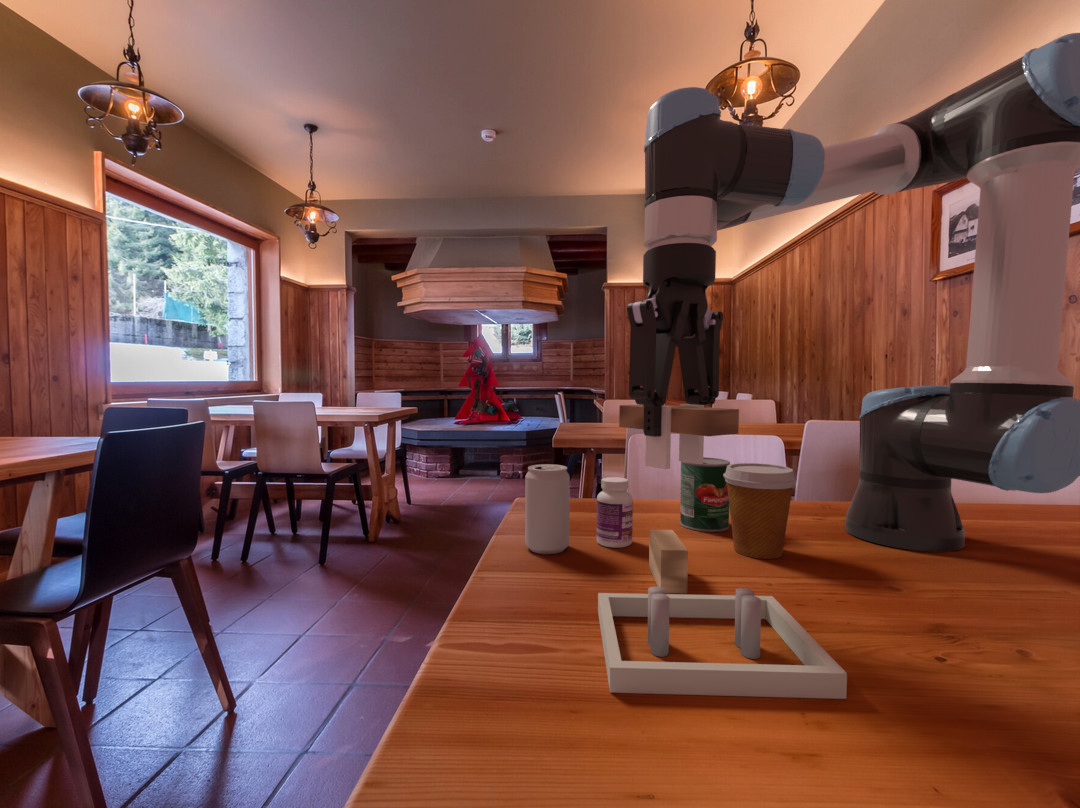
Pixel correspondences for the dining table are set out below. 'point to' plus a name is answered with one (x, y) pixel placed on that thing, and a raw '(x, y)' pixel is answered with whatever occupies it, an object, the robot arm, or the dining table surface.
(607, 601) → the peg frame
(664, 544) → the stand block
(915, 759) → the dining table surface
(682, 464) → the canned tomato
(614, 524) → the pill bottle
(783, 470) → the disposable coffee cup
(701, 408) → the board
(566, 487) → the beverage can
